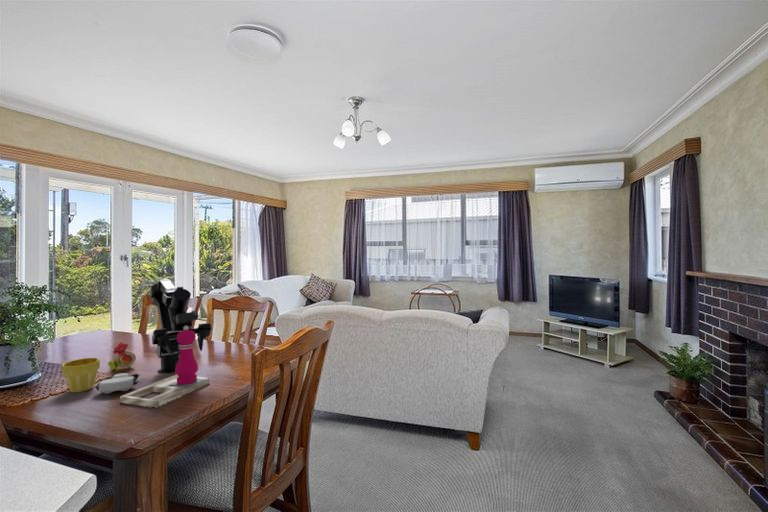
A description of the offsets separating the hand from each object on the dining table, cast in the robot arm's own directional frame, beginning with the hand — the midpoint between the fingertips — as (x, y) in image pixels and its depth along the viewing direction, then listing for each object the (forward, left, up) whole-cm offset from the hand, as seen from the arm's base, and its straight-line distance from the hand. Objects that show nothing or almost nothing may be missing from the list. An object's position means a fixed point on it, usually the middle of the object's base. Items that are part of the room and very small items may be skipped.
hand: (187, 352), depth 130 cm
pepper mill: (-1, 0, -11) cm, 11 cm away
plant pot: (-36, -11, -13) cm, 40 cm away
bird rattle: (-44, +10, -13) cm, 47 cm away
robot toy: (-24, -6, -13) cm, 28 cm away
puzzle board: (-4, -5, -13) cm, 14 cm away
